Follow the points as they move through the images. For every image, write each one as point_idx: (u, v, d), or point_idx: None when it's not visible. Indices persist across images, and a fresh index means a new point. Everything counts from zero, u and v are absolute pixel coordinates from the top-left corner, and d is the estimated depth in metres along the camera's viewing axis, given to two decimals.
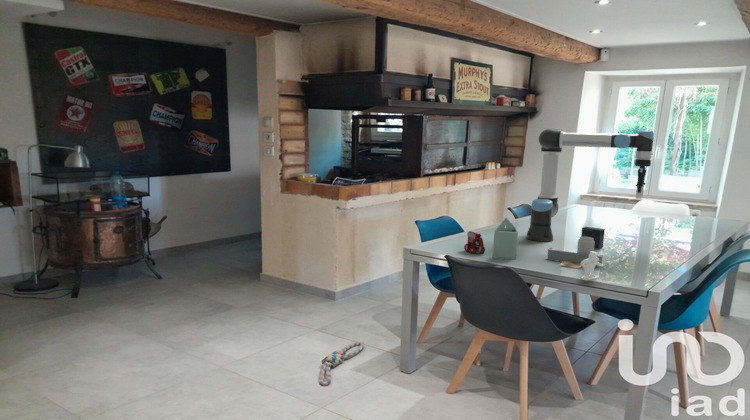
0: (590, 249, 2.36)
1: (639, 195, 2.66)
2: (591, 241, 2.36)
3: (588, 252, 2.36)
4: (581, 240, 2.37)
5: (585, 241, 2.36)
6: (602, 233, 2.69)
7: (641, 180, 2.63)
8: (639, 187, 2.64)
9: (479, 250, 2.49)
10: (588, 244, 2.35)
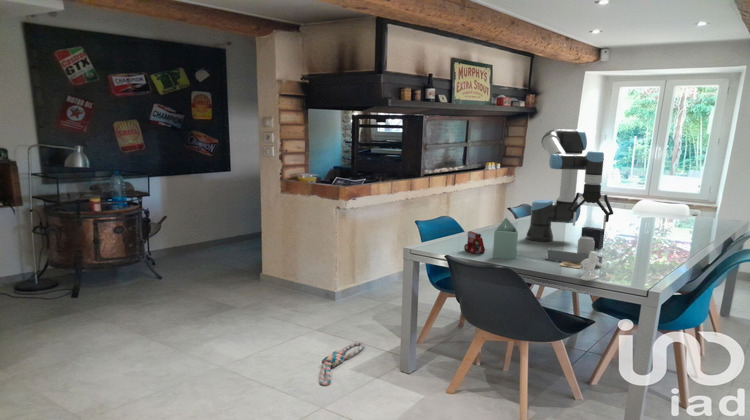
0: (590, 249, 2.36)
1: (573, 221, 2.41)
2: (591, 241, 2.36)
3: (588, 252, 2.36)
4: (581, 240, 2.37)
5: (585, 241, 2.36)
6: (602, 233, 2.69)
7: (570, 205, 2.41)
8: None
9: (479, 250, 2.49)
10: (588, 244, 2.35)
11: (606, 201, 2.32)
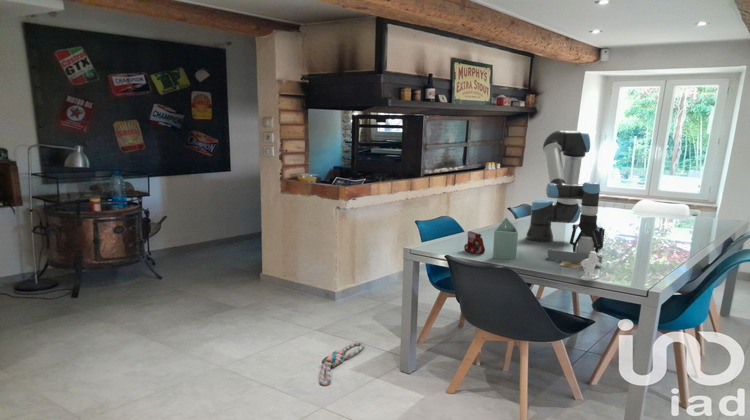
0: (590, 249, 2.36)
1: None
2: (591, 241, 2.36)
3: (588, 252, 2.36)
4: (581, 240, 2.37)
5: (585, 241, 2.36)
6: (602, 233, 2.69)
7: None
8: (573, 246, 2.42)
9: (479, 250, 2.49)
10: (588, 244, 2.35)
11: (600, 234, 2.34)
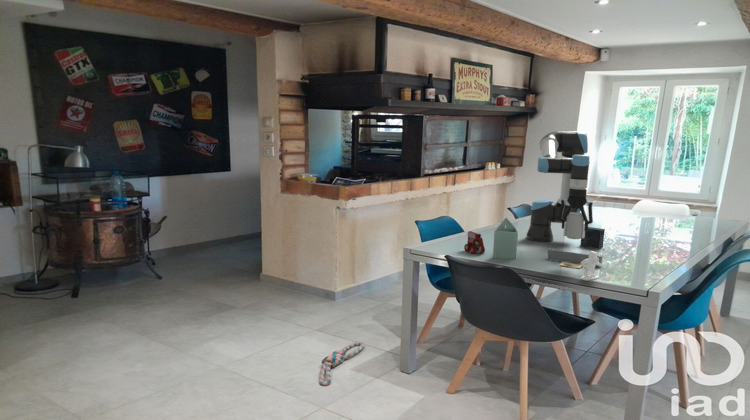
0: (580, 224, 2.25)
1: (564, 231, 2.32)
2: (580, 216, 2.25)
3: (577, 228, 2.25)
4: (570, 215, 2.27)
5: (574, 216, 2.25)
6: (602, 233, 2.69)
7: None
8: None
9: (479, 250, 2.49)
10: (577, 219, 2.25)
11: (589, 209, 2.24)
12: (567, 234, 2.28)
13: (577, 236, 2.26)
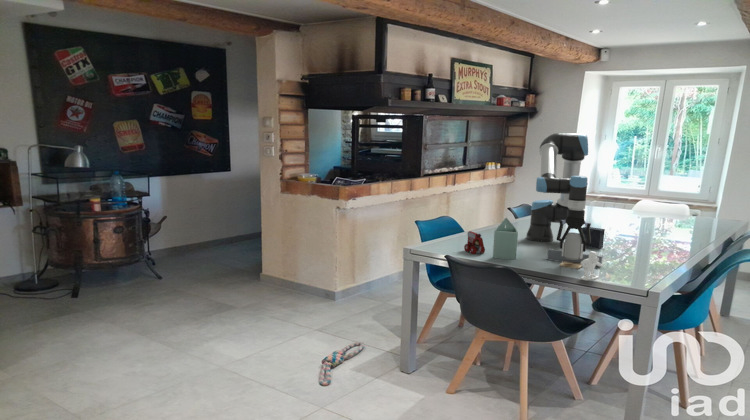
0: (578, 245, 2.27)
1: (562, 251, 2.33)
2: (578, 237, 2.27)
3: (575, 248, 2.27)
4: (568, 236, 2.28)
5: (572, 237, 2.27)
6: (602, 233, 2.69)
7: None
8: None
9: (479, 250, 2.49)
10: (575, 240, 2.26)
11: (587, 230, 2.25)
12: (565, 254, 2.30)
13: (575, 257, 2.27)
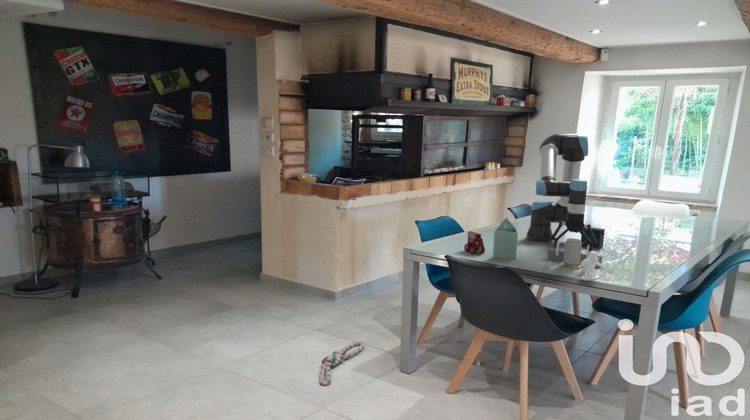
0: (577, 251, 2.27)
1: None
2: (578, 243, 2.27)
3: (575, 254, 2.27)
4: (568, 242, 2.29)
5: (572, 243, 2.27)
6: (602, 233, 2.69)
7: None
8: None
9: (479, 250, 2.49)
10: (575, 246, 2.27)
11: (589, 231, 2.25)
12: (565, 260, 2.31)
13: (575, 263, 2.28)
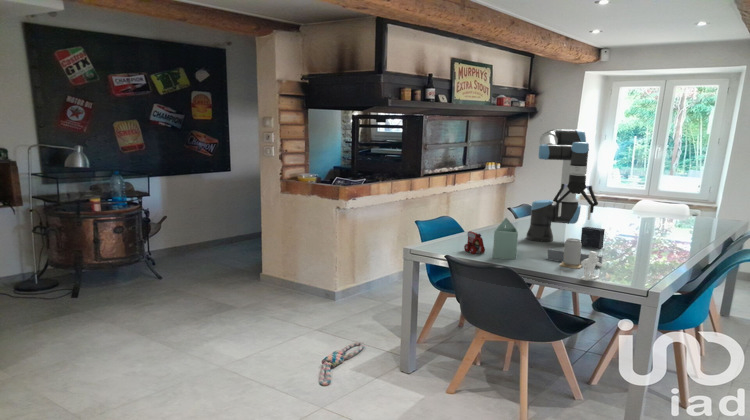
0: (577, 251, 2.27)
1: None
2: (578, 243, 2.27)
3: (575, 254, 2.27)
4: (567, 242, 2.29)
5: (572, 243, 2.27)
6: (602, 233, 2.69)
7: None
8: None
9: (479, 250, 2.49)
10: (575, 246, 2.27)
11: (591, 192, 2.32)
12: (565, 260, 2.31)
13: (575, 262, 2.28)
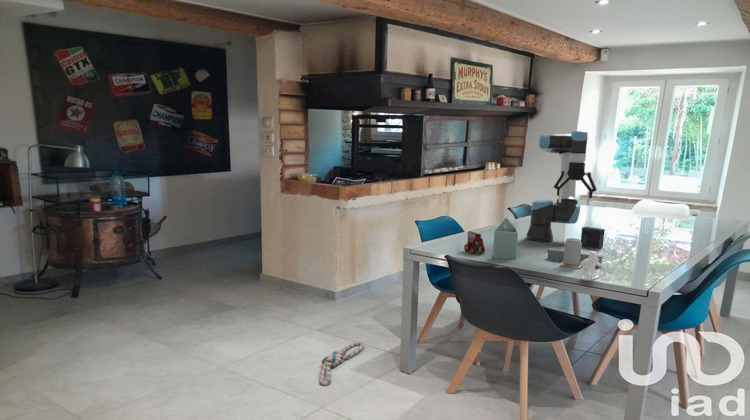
0: (577, 251, 2.27)
1: None
2: (578, 243, 2.27)
3: (575, 254, 2.27)
4: (568, 242, 2.29)
5: (572, 243, 2.27)
6: (602, 233, 2.69)
7: (556, 182, 2.52)
8: None
9: (479, 250, 2.49)
10: (575, 246, 2.27)
11: (589, 178, 2.43)
12: (565, 260, 2.31)
13: (575, 262, 2.28)
